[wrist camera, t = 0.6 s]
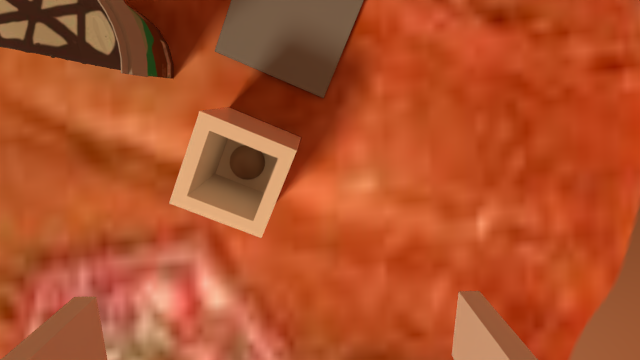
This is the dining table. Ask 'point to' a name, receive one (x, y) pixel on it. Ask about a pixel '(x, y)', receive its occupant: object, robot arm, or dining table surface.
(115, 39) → the food container
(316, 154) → the dining table surface
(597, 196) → the dining table surface
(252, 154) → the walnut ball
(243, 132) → the cup
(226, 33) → the felt pad
